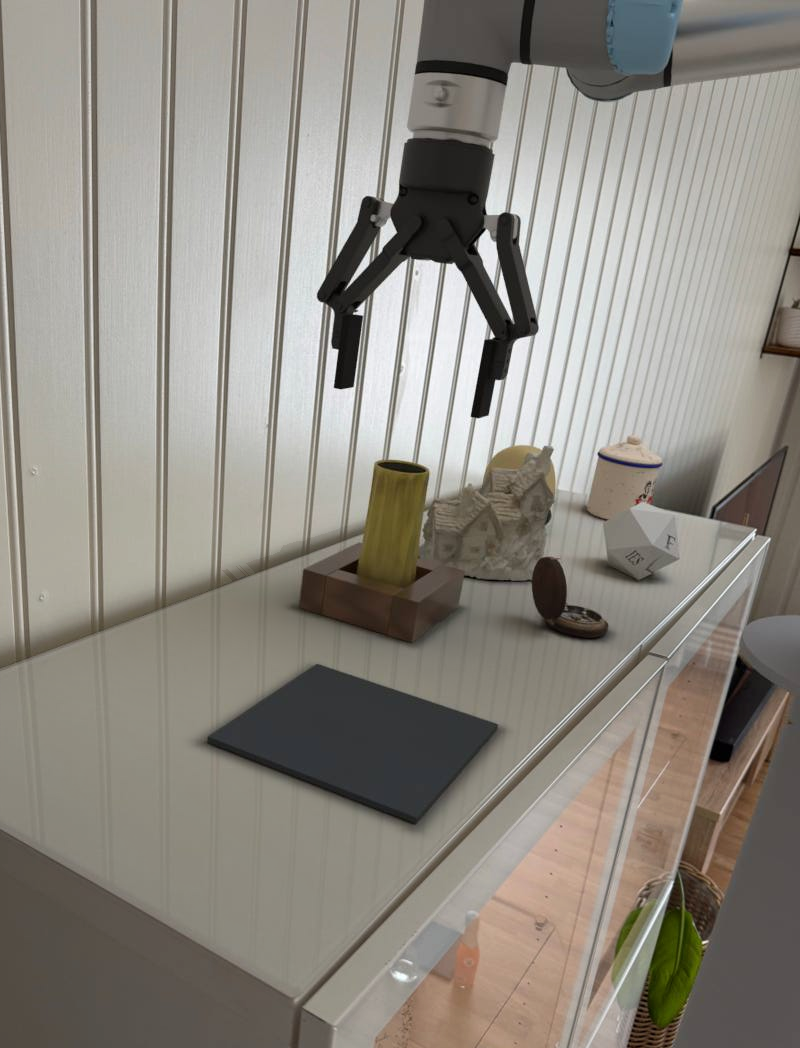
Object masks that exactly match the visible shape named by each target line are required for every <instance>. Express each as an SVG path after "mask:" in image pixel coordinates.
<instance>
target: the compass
mask: <svg viewBox="0 0 800 1048" xmlns="http://www.w3.org/2000/svg"><path fill="white" fill-rule="evenodd" d="M559 560H562V557H554V556H547V557H543V558H540V559H539V560H538V561H537V563H536V565H535V567H534V571H533V575H532V580H531V593H532V599H533V603H534V606H535V608H536V610H537V612H538V614H539V615H540V616H541V617H542V618H543V619H545V621H546V623H547V624H548V625H549V626H550V627H551V628H553V629H554V630H555V631H558V632H561V633H563V634H566V635H569V636H573V637H578V638H588V639H589V638H590V639H591V638H592V639H593V638H599V637H602V636H604V635H606V634H607V633H608V631H609V623H608V622H607V620H606V619H605V618H604V616H602V615H601V614H600V613H599V612H597V611H595V610H593V609H591V608H588V607H584V606H580V605H573V604H568V603H567V598H568V585H567V580H566V575H565V571H564V568H563V567H562V564H561V563H560V561H559Z"/></svg>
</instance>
